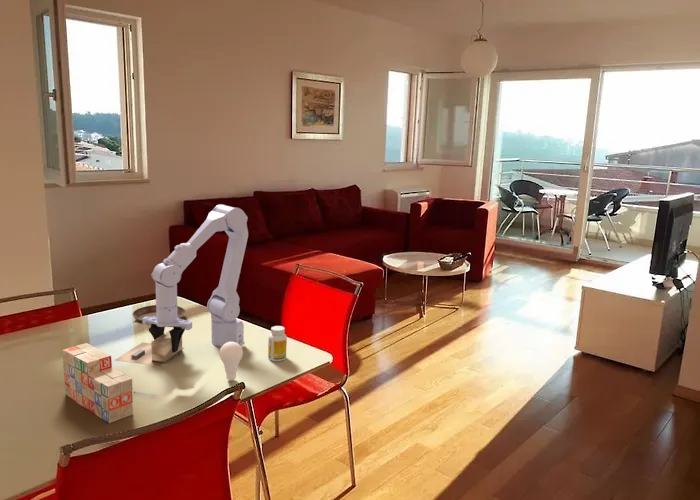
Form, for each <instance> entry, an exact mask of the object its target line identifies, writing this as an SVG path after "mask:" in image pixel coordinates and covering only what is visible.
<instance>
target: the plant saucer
mask: <svg viewBox="0 0 700 500" xmlns="http://www.w3.org/2000/svg"><path fill="white" fill-rule="evenodd" d="M186 313H187V311H186V309H185V308H183V307H182V306H178V305H177V317H178V318H179V319H182V320H183V318H184V316H186ZM146 316H147V317H157V316H156V304H152V305H146V306H141V307H139V308H137V309H135V310H133V312H132V317H133V318H134V320H135V321H136V322H137V323H140V324H142V318H144V317H146Z"/></svg>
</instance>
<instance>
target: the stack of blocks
mask: <svg viewBox="0 0 700 500" xmlns="http://www.w3.org/2000/svg"><path fill="white" fill-rule="evenodd" d="M61 353H62V360H63V361H62V363H63V365H62V367H63V372H64V373H63V374H64V375H63V376H64V389H65V390H64V391H65V395H66V396H67V397H69V398H70V399H72V400H73V401H74V402H75V403H77V404H78V405H79V406H82V407H83V408H85V409H87V410H88V411H90V412H91V413H92V414H94V415H96V416H97V417H98V418H100V419H101V420H103V421H104V422H106V423H107V422H108V424H111V423H114V422H116V421H119V420H121V419H124V418H126V417H129V416H132V415H133V413H134V410H133V408H134V407H133V401H134V400H133V391H134V390H133V378H132V377H130V376H128V375H126V374H125V373H123V372H121V371H120V370H118V369H117V368H114V367H113V363H112V355H111V354H109V353H107V352H104V351H102V350H100V349H99V348H97V347H95V346H93V345H91V344H89V342H88V343H87V342H85V343H81V344H78V345H75V346H69V347H67V348H64V349H62V350H61Z"/></svg>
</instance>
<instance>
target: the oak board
mask: <svg viewBox="0 0 700 500" xmlns="http://www.w3.org/2000/svg"><path fill="white" fill-rule="evenodd" d="M140 349H141V350H145V354H143V355H142V356H140V357H139V358H137V359H132V358H131V355H132V354H134V353H135V352H137V351H138V350H140ZM184 349H185V347H183V346H182V350H184ZM115 361H117V362H118V361H119V362H126V363H134V364H141V365H149V366H156V367H157V366H158V367H161V366H162V365H164V364H163V363H155V362H152V348H151V343H149V342H141V343H139V344H138V345H136V346H134V347H132V348H131V349H130V350H128V351H127V352H125V353H124V354H121V355H120V356H119V357H117V358H116V359H115Z"/></svg>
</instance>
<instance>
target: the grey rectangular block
mask: <svg viewBox="0 0 700 500" xmlns="http://www.w3.org/2000/svg"><path fill="white" fill-rule="evenodd" d="M143 354H145V350H141V349H140V350H138V351H137V352H135V353H134V354H132V355H131V358H132V359H137V358H139V357H140V356H142V355H143Z"/></svg>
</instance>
